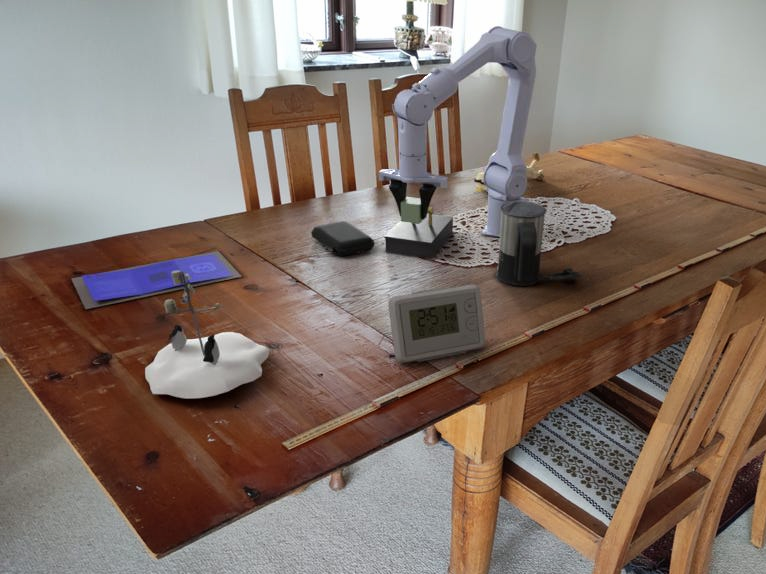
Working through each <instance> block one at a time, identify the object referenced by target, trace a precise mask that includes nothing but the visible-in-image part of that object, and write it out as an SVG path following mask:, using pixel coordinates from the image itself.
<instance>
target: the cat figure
mask: <svg viewBox="0 0 766 574" xmlns="http://www.w3.org/2000/svg"><path fill="white" fill-rule="evenodd" d="M531 157H532V158H533V160H532V161H531V163H530V164H529V165H526V166H527V171H526V177H527V180H531V179H532V180H533V179H534V180H536V179H537V180H538V181H542V180H543V179H544V178H545V174H544V170H543V169H539V170H537V171H536V168H535V166H536V165H537V164H538V163H539V161H540V155H539V152H537V151H533V152H532V154H531ZM483 174H484V171H481V172H478V173H477V175H476V177H475V178H474V183H475V184H476V185H473V187H474V188H475V189H476V191H477V192H485V191H487V189H488V187H487V186H486V185H485V184H484V181H483Z"/></svg>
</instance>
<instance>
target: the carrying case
mask: <svg viewBox="0 0 766 574" xmlns="http://www.w3.org/2000/svg"><path fill="white" fill-rule="evenodd" d="M310 233H311V237H312V238H313V239H315V240H316V241H317V242H319V243H320V244H322V245H323V249H324V250H325V251H326V252H330V253H332V254H336V255H337V256H340V257H346V256H351V255H355V254H359V253H364V252H368V251H369V252H370V251H371V250H372V249H373V248H374V247H375V245H376V242H375V240H374V239H373V238H372V237H371V236H369V235H368V234H367V233H365V232H364V231H362V230H361V229H359V228H358V227H356V226H354V225H353V224H351V223H350V222H348V221H345V220H340V221H334V222H330V223H324V224H320V225H315V226H314V227H313V229H312V230H311V232H310Z"/></svg>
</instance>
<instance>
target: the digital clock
mask: <svg viewBox="0 0 766 574" xmlns="http://www.w3.org/2000/svg"><path fill="white" fill-rule="evenodd" d="M387 302H388V313H389V320H390V328H391V329H390V330H391V336H392V344H393V351H394V357H395V360H396V362H397V363H398V364H406V363H407V364H408V363H411V362H412V363H413V362H416V363H421V362H425V361H432V360H436V359H440V358H447V357H452V356H456V355H457V356H458V355H461V354H466V353H467V352H469V351H474V350H479V349H483V348H484V347H485V345H486V335H485V324H484V314H483V305H482V303H483V302H482V295H481V289H480V286H479V285H478V284H466V285H459V286H457V285H453V286H447V287H446V286H445V287H439V288H434V289H427V290H420V291H413V292H411V293H407V294H401V295H395V296H392V297H390V298H389V299H388V301H387Z"/></svg>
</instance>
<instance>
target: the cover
mask: <svg viewBox="0 0 766 574" xmlns="http://www.w3.org/2000/svg"><path fill="white" fill-rule="evenodd" d="M452 220H453V221H454V217H453V216H447V215H439V214H434V207H432V206H429V208H428V212H427V217H426V218H425V219H424V220H423V221H422V222H421V223H420V224H416V223H409V222H402V221H401V220H399V221H398V222H397V224H395V225H394V226H393V227H392V228H391V229H390V230H389V231H388V232H387V233H385V235H384V236H383V239H385V238H386V239H393V240H400V241H407V242H414V243H421V244H428V245H431V244H432V243H433V242H434V241H435V240H436V239H437V237H438V236H439V235H440V234H441V233H442V231H443V230H444V229H445V228H446V227H447V226H448V224H449V223H450V222H451V221H452Z"/></svg>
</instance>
